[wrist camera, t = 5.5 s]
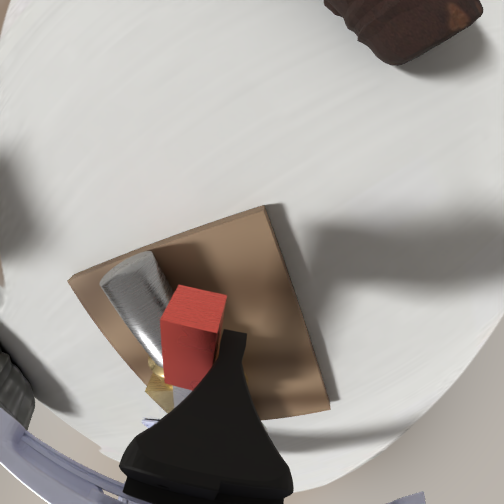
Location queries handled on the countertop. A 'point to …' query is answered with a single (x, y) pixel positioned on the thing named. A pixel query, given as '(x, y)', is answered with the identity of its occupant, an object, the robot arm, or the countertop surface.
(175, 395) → the valve lever
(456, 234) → the countertop surface
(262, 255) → the mount board
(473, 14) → the pipe
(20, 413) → the bundt pan
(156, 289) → the valve body
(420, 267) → the countertop surface
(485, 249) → the countertop surface
